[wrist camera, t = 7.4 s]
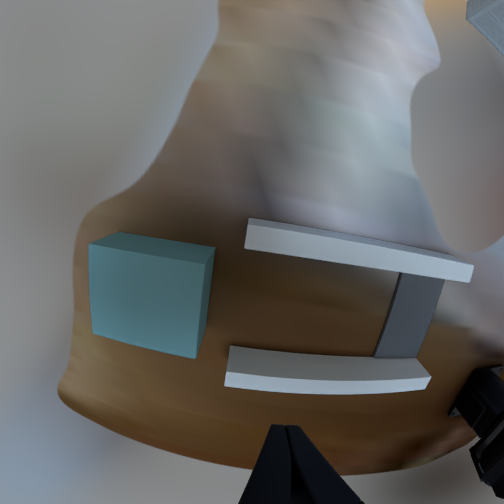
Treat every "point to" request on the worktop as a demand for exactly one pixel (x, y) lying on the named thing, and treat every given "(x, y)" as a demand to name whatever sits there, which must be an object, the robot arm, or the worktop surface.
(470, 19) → the skincare box
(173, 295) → the teal block
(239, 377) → the channel
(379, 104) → the worktop surface
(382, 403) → the worktop surface
